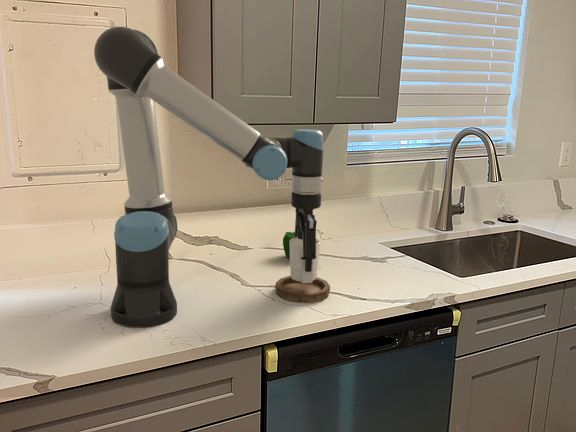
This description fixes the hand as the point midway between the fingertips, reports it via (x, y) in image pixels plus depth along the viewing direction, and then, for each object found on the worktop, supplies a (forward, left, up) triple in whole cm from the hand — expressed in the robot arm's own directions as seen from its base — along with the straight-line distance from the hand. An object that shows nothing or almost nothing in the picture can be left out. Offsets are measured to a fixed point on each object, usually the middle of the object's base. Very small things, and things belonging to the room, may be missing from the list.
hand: (303, 276), depth 148 cm
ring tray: (0, 0, -4) cm, 4 cm away
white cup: (0, 0, 0) cm, 0 cm away
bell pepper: (+4, +28, -5) cm, 29 cm away
